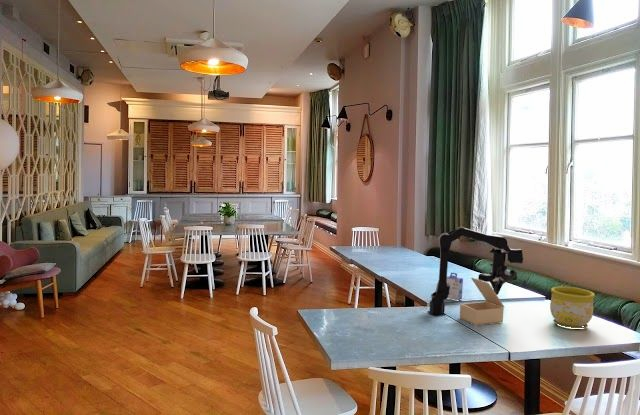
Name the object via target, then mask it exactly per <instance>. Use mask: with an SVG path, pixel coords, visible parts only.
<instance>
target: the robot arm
mask: <svg viewBox="0 0 640 415" xmlns="http://www.w3.org/2000/svg"><path fill="white" fill-rule="evenodd" d="M461 237H467V238H469V239H473V240H477V241H479V242H483V243H487V244H488V245H490V246H492V247H491V248H490V249H488V252H489V253H491V254H492V262H491V263H490V266H491V271H490V272H489V273H479V274H478V278H477V279H479V280H481V281H484V282H487V283H489V284H490V286H491V287H492V289H493V290H494V292H495V293H496V295H497V296H498V295H499V293H500V291H501V289H502V287H503V285H504V284H506V283H508V282H509V281H511V282H512V281H517V280H518V276H517V270H516V269H508V265H507V264H506V262H508V263H509V264H517V265H521V264H523V262H524V257H523V255H524V254H523V249H522V248H517V249H515V248H511V247H510V246H509V245H508V240H507V239H506V238H505V237H504V236H503V235H500V234H499V235H498V234H487V233H484V232H480V231H477V230H474V229H470V228H466V227H464V226H459V227H457V228H456V229H453V230H450V231H448V232H442V233H441V234H440V235H439V236H438V240H439V241H438V242H439V250H440V256H439V270H438V271H439V272H438V280H437V284H436V286H435V287H436V288H435V291H434V292H433V293H431V295H430V298H431V300H430V301H429V310H428V311H427V314H430V315H431V316H432V315H433V316H435V317H437V316H439V317H440V316H446V315H447V314H446V313H445V308H446V304H445V300H446V299H447V298H448V294H449V289H450V285H449V284H447V276H448V268H449V267H448V266H449V253H450V250H451V246H452V243H453V242H454V241H456V240H458V239H459V238H461ZM503 250H504V251H503ZM449 295H450V294H449Z"/></svg>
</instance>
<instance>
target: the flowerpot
mask: <svg viewBox="0 0 640 415" xmlns="http://www.w3.org/2000/svg"><path fill="white" fill-rule="evenodd" d="M550 291H551V299H550V305H549V309H550V314H551V316H552V317H553V320H552V321H553V323H554V324H555V323H556V324H559V325H561V326H565V327H571V328H585V329H587V328H588V323H589V322H591V320H592V318H593V314H594V298H595V297H596V295H595V294H596V293H594V292H593V291H590V290H588V289H584V288H579V287H573V286H554V287H551V289H550ZM556 324H555V325H556ZM582 326H584V327H582Z"/></svg>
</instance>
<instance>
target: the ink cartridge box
mask: <svg viewBox="0 0 640 415" xmlns="http://www.w3.org/2000/svg"><path fill="white" fill-rule="evenodd" d="M447 284H449V285H450V289H449V294H450V295H449V294H448V298H450V299H455V300H460V299H462V300H463V290H464V289H463V288H464V286H463V284H464V278H463V277H458V273H456V272H450V275H449V276H448V275H447Z"/></svg>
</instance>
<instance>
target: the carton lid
mask: <svg viewBox="0 0 640 415" xmlns="http://www.w3.org/2000/svg"><path fill="white" fill-rule="evenodd" d="M471 281H472V282H473V283H474V285H475V286H476V288H477V289H478V291H479V293H480V294H481V296H482V297H483V298H484V300H485V302H486V301H487V302H489V303H492V304H495V305H497V306H500V307H502V308H505V305H504V303H503V302H502V301H501V299H500V298H499V296H498V295H496V293H495V292H494V290H493V287H492V285H491V283H490V282H485V281H482V280H479V279H478V278H474V277H471Z"/></svg>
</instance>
